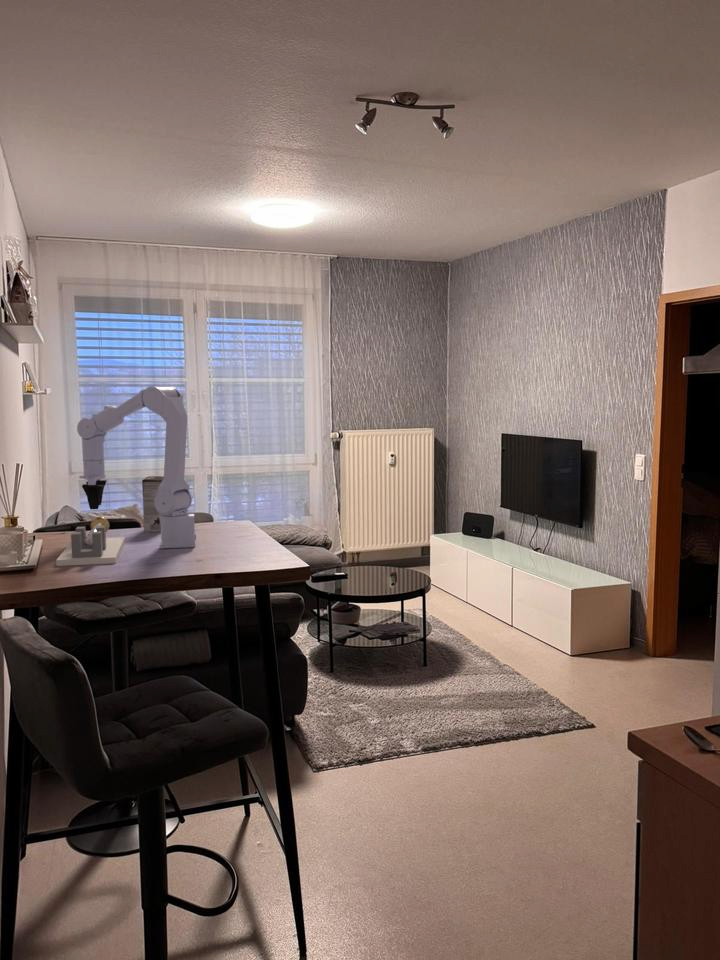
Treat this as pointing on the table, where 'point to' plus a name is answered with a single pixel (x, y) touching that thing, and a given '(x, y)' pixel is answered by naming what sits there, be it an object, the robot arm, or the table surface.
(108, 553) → the shaft housing
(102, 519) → the shaft
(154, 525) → the coffee box
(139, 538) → the table surface
